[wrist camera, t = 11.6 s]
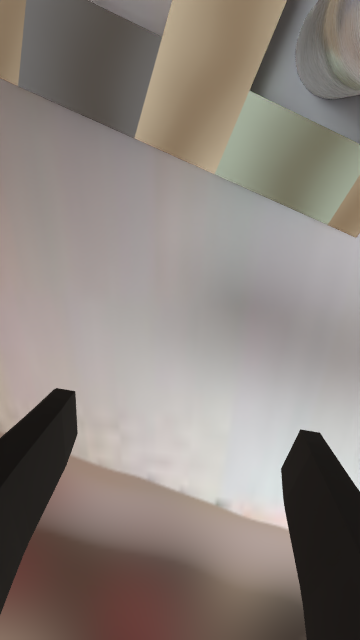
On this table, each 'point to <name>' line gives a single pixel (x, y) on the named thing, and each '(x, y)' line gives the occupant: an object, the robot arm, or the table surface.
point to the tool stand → (186, 94)
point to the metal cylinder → (330, 49)
